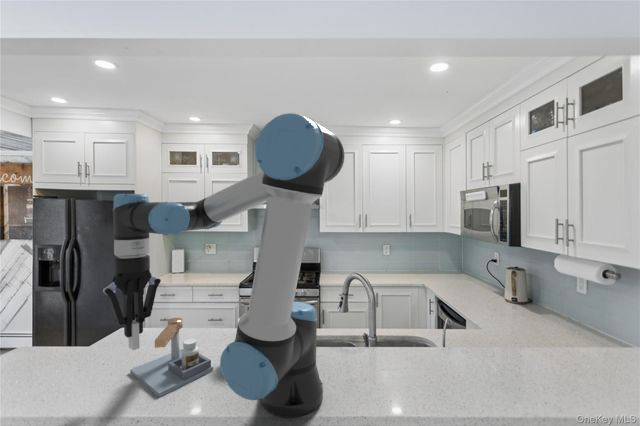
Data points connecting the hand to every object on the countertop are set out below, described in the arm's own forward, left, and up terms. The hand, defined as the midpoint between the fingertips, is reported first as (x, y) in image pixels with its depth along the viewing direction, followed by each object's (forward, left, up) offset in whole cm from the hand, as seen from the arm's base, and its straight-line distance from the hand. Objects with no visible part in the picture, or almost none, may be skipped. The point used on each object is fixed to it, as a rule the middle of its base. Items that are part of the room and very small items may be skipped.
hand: (134, 347), depth 77 cm
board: (0, -10, -11) cm, 15 cm away
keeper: (+1, -9, 0) cm, 9 cm away
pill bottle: (-4, -13, -10) cm, 17 cm away
